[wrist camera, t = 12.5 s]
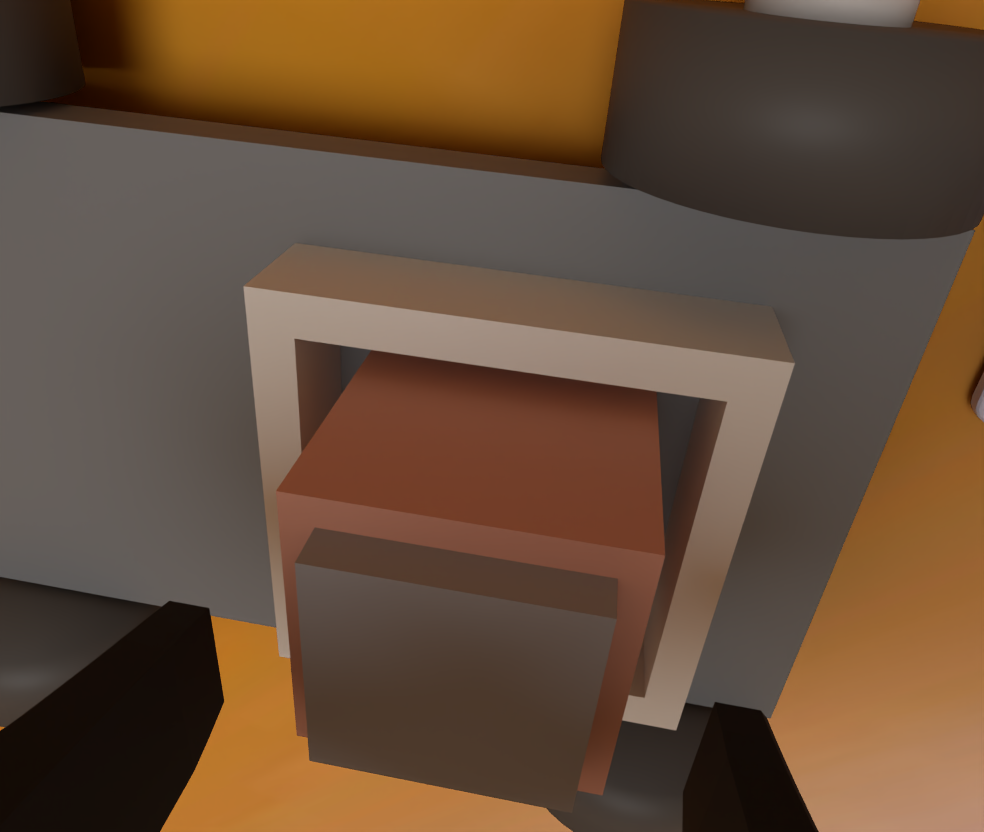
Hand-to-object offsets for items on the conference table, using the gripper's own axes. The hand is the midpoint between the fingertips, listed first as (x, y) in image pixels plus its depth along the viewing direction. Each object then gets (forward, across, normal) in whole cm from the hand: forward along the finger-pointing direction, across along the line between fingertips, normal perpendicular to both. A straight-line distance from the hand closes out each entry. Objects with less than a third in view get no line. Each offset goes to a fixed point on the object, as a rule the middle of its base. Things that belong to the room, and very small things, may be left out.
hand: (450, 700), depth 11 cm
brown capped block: (+6, 0, 0) cm, 6 cm away
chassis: (+10, +4, 0) cm, 10 cm away
